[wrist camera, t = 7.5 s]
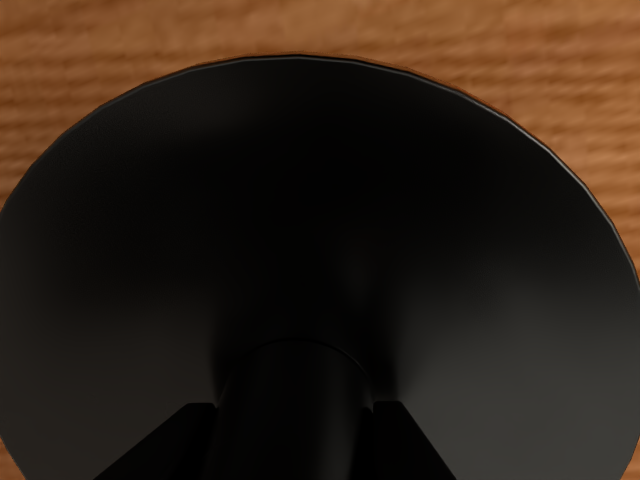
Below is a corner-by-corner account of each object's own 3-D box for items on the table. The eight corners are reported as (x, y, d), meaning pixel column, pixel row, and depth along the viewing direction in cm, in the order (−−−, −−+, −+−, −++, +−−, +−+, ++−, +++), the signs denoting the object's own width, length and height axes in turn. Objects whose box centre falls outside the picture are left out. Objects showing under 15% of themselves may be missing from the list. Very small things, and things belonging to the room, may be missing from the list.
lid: (-7, 498, 12) (-255, 831, 7) (35, -50, 8) (-461, -111, 3) (480, 629, 13) (548, 1029, 8) (758, 168, 9) (1274, 406, 4)
